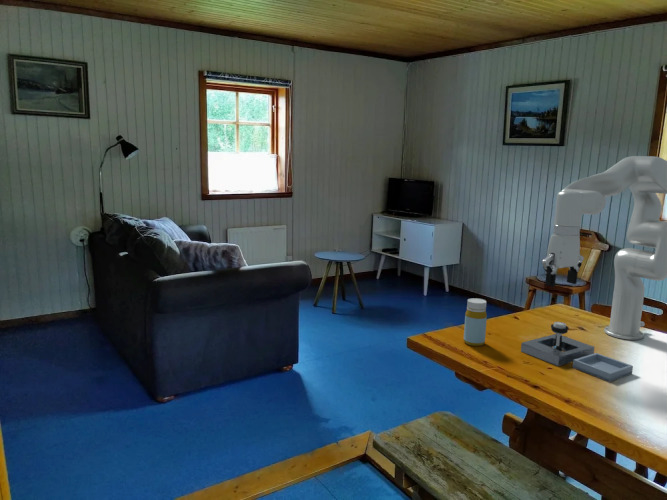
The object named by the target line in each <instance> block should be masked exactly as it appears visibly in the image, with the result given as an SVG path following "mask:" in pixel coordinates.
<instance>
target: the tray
mask: <svg viewBox="0 0 667 500" xmlns="http://www.w3.org/2000/svg"><path fill="white" fill-rule="evenodd" d="M572 368H573V369H574V370H578V371H581V372H582V373H585V374H588V375H591V376H593V377H595V378H597V379H600V380H604V381H605V382H608V383H611V382H613V381H616V380H618V379H622V378H625V377H627V376H629V375H632V374H633V370H634V366H633V365H632V364H630V363H629V364H628V363H626V362H623V361H620V360H619V359H615V358H612V357H609V356H606V355H603V354H601V353H598V352H594V354H591V355H588V356H584V357H581V358H578V359H574V360H573V362H572Z"/></svg>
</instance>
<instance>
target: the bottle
mask: <svg viewBox="0 0 667 500" xmlns="http://www.w3.org/2000/svg"><path fill="white" fill-rule="evenodd" d="M486 310H487V300H486V299H483V298H477V297H476V298H474V297H473V298H468V299H467V305H466V311H465V314H464V329H463V330H464V331H463V342H464V343H465V344H466V345H468V346H470V347H471V346H472V347H481V346H483V345H484V344H486V343H485V342H486V331H487V320H488V319H487V318H488V317H487V316H488V315H487V311H486Z"/></svg>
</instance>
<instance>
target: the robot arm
mask: <svg viewBox="0 0 667 500" xmlns="http://www.w3.org/2000/svg"><path fill="white" fill-rule="evenodd" d="M628 188H629V190H630V193H631V194H632V198H633V204H634V205H633V209H632V213H631V216H630V221H629V224H628V228H627V230H626V240H627V242H629V244H632V245H635V246H641V247H646V248H653V249H655V251H650V250H645V249H638V248H632V247H625V248H621V249H619V250H618V251H617V252H616V254H615V256H614V259H613V264H614V286H613V287H614V288H613V295H612V304H611V310H610V311H611V312H610V319H609V325H607V326H605V327H604V330H603V331H604V333H605V334H607V335H609V336H611V337H614V338H617V339H621V340H630V341H637V340H642V339H643V338H644V336H645V334H644V332H642V331H641V330H640V329H641V328H642V327H645V325H646V324H645V322H644V321H641V319H642V313H643V306H644V298H645V291H646V290H645V289H646V288H645V285H644V282H643V279H647V280H652V281H657V282H659V281H660V282H661V281H664V280H665V279H667V221H665V220H664V221H663V220H660V217H661V213H662V210H663V205H662V202H661V199H660V198H659V197H658V195H657V194H665V195H666V194H667V160H666V159H665V158H662V157H660V156H654V155H653V156H651V155H650V156H649V155H648V156H646V155H645V156H644V155H632V156H627V157H624V158H622V159H621V160H620V161H618V162H617V163H615V164H614V165H612V166H611V167H609V168H608V169H607V170H605V171H603V172H601V173H600V172H599V173H596V174H592V175H590V176H587V177H583V178H580V179H577V180H574V181H573V182H571V183H569V184H568V185H567V186H566V187H564V188H562V189H561V190H560V191H559V192H558V193H557V194H556V201H555V209H554V210H555V211H554V221H553V229H552V230H553V231H552V232H553V233H552V234H551V236H550V239H549V241H548V246H547V251H546V257H545V258H543V259H542V261H541V263H542V267H543V270H544V272H545V283H544V284H545V286H547V287H548V286H549V287H551V288H555V286H556V279H557V274H556V272H557V270H558V269H564V268H569V269H568V270H567V276H566V282H567V283H569V284H572V285H576V284H577V282H578V281H577V280H578V273H579V271H580V268H581V266H582V263H583V261H584V259H585V257H584V256H583V255H581V239H580V231H581V225H582V224H581V223H582V222H581V221H582V215H588V216H589V215H590V216H593V215H598V214H600V213H602V212H603V211H604V209H605V208H606V204H607V199H606V198H607V197H613V196H617V195H619V194H621V193H622V192H624V191H625V190H626V189H628Z"/></svg>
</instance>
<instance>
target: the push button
mask: <svg viewBox="0 0 667 500" xmlns="http://www.w3.org/2000/svg"><path fill="white" fill-rule="evenodd" d="M569 329H570V327H569V326H568V325H567V324H566V323H565V322H561V321H555V322H554V323H553V324H550V330H551V331H552V332H553V333H554V334H556V337H555V341H553V347H552V348H554V349H557V350H560V351H562V352H563V348H562V346H563V342H562V336H563V335H565V334H567V333H568V331H569Z"/></svg>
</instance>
